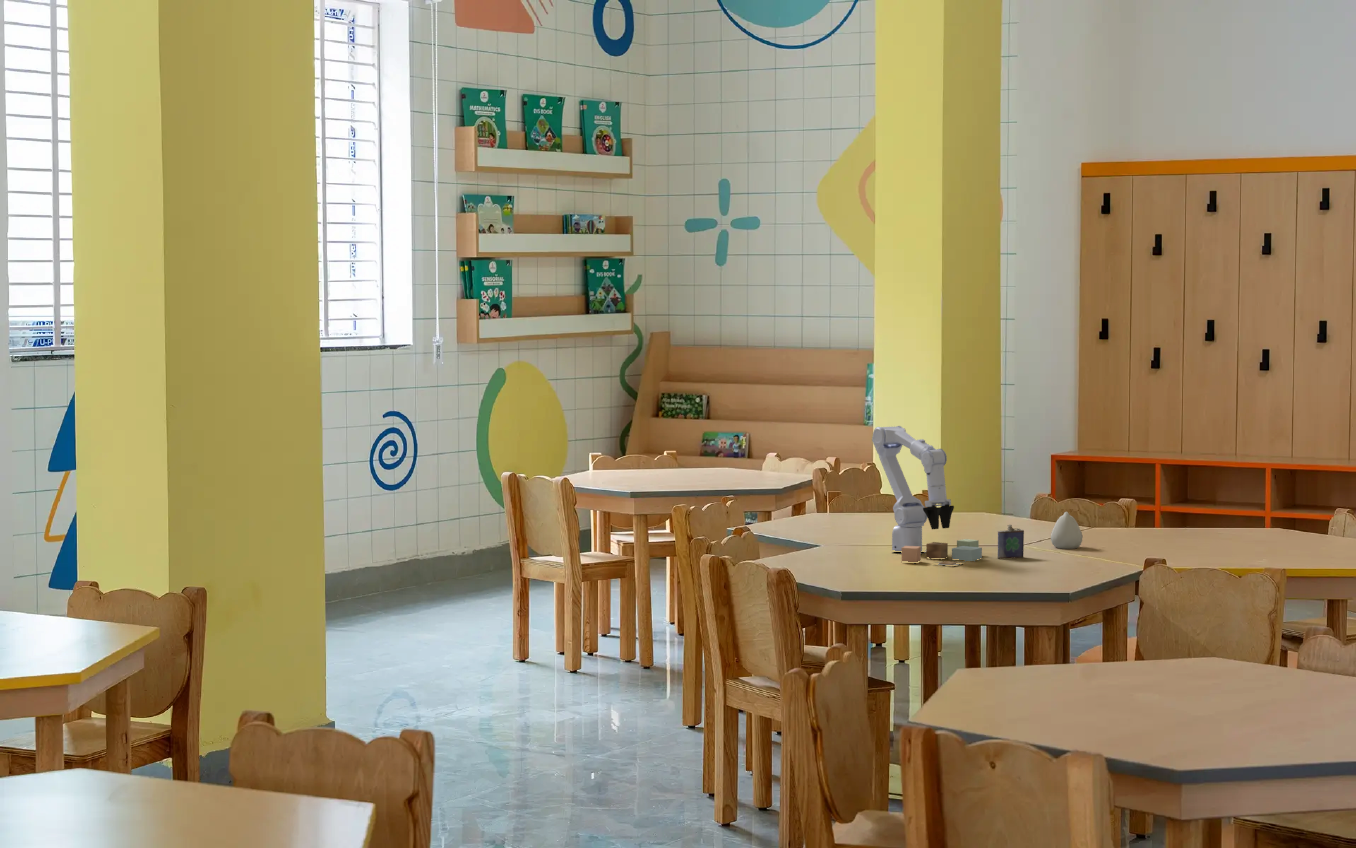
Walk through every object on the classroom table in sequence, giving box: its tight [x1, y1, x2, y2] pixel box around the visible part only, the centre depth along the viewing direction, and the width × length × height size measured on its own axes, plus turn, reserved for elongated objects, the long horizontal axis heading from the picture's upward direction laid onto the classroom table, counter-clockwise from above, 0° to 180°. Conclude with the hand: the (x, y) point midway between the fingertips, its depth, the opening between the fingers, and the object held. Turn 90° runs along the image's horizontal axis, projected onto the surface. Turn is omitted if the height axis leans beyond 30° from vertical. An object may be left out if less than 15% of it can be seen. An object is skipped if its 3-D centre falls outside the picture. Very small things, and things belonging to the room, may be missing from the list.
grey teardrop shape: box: [1050, 511, 1084, 550], centre depth 488 cm, size 10×10×12 cm
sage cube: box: [956, 538, 980, 547], centre depth 473 cm, size 5×5×5 cm
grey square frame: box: [938, 560, 960, 566], centre depth 453 cm, size 7×7×1 cm
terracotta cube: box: [901, 546, 922, 562], centre depth 459 cm, size 5×5×5 cm
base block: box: [951, 546, 983, 562], centre depth 464 cm, size 7×7×4 cm
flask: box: [997, 524, 1025, 560], centre depth 466 cm, size 9×3×11 cm, turn 109°
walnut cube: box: [925, 541, 949, 558], centre depth 467 cm, size 5×5×5 cm
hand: (940, 528), depth 466 cm, fingers open, 7 cm apart
